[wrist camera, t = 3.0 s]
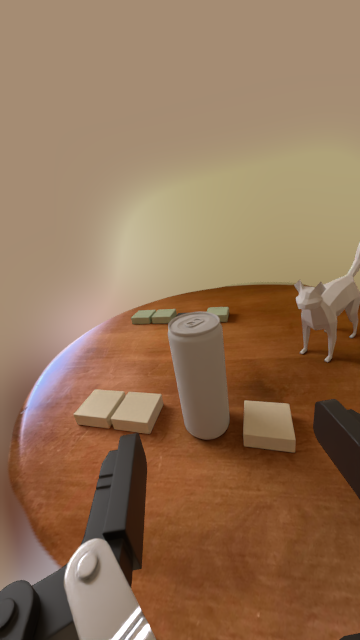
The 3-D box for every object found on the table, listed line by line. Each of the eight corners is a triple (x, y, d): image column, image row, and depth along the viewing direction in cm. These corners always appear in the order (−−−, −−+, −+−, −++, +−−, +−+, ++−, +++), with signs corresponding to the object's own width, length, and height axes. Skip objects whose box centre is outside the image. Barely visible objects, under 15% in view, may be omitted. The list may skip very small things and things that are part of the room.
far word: (130, 325, 54) (129, 319, 53) (141, 315, 59) (140, 309, 58) (226, 323, 47) (226, 316, 47) (229, 312, 53) (229, 305, 52)
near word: (77, 424, 28) (73, 414, 28) (98, 398, 32) (95, 389, 31) (295, 453, 21) (295, 440, 20) (288, 415, 25) (289, 403, 24)
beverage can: (176, 424, 26) (155, 325, 21) (207, 400, 29) (194, 307, 24) (208, 452, 22) (191, 340, 18) (240, 422, 25) (233, 317, 20)
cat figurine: (281, 365, 33) (283, 262, 27) (340, 315, 43) (351, 234, 38) (316, 378, 29) (326, 264, 24) (371, 321, 40) (387, 232, 34)
